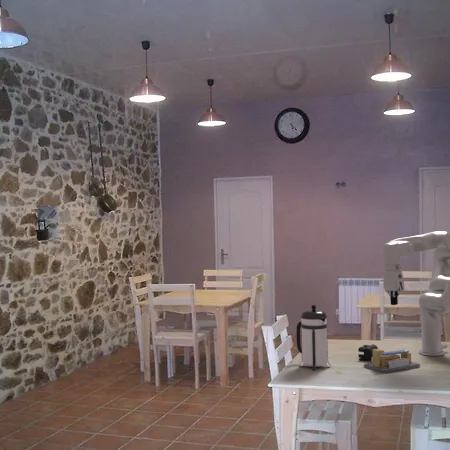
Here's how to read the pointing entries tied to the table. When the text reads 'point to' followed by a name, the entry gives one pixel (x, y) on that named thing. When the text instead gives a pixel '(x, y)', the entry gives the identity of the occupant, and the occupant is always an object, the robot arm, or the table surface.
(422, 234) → the robot arm
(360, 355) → the end cap
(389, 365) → the block
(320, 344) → the coffee press
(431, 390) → the table surface
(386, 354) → the strap
